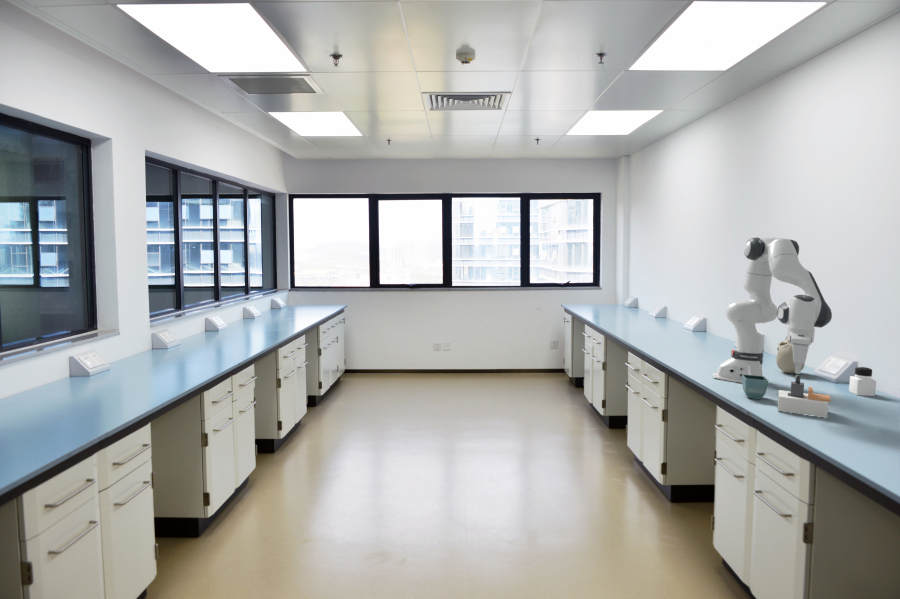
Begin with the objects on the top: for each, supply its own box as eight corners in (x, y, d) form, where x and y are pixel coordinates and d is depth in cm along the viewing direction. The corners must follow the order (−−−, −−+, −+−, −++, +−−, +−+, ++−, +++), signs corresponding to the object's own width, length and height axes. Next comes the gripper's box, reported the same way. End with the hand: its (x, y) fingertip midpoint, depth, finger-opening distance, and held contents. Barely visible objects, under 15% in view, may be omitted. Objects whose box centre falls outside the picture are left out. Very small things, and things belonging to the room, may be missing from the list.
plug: (789, 405, 214) (792, 376, 213) (789, 403, 218) (791, 374, 217) (802, 407, 212) (804, 377, 211) (802, 404, 216) (804, 375, 214)
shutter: (808, 398, 209) (809, 390, 209) (807, 394, 215) (808, 386, 215) (830, 401, 206) (831, 392, 206) (829, 397, 212) (829, 389, 211)
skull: (803, 372, 284) (806, 334, 282) (804, 377, 271) (807, 338, 270) (775, 369, 291) (778, 332, 289) (774, 374, 278) (777, 336, 276)
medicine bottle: (875, 396, 237) (877, 369, 236) (856, 395, 239) (859, 368, 238) (866, 392, 244) (868, 366, 243) (848, 391, 246) (850, 365, 245)
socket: (777, 411, 213) (778, 396, 212) (777, 404, 223) (778, 390, 223) (826, 418, 205) (828, 403, 204) (824, 410, 215) (825, 395, 214)
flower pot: (762, 396, 236) (764, 375, 235) (767, 401, 227) (768, 380, 227) (740, 394, 239) (741, 374, 238) (744, 399, 230) (745, 378, 229)
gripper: (790, 332, 223) (787, 364, 224) (791, 339, 205) (788, 374, 207) (809, 333, 219) (805, 367, 221) (811, 341, 202) (807, 377, 204)
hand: (797, 370), depth 214 cm, fingers open, 8 cm apart
